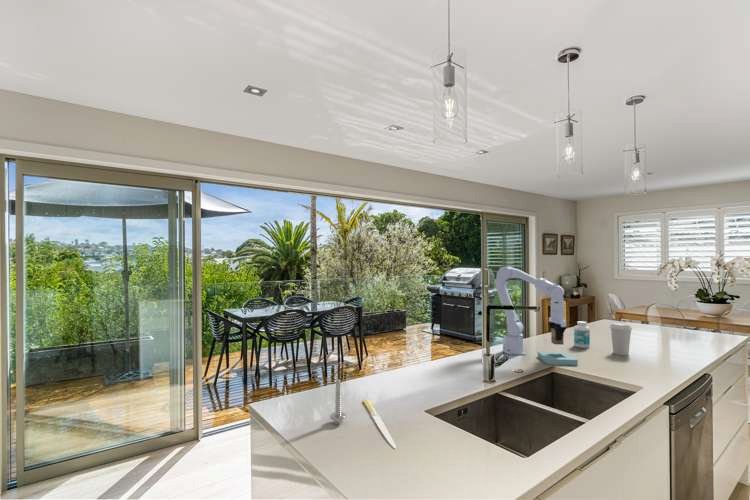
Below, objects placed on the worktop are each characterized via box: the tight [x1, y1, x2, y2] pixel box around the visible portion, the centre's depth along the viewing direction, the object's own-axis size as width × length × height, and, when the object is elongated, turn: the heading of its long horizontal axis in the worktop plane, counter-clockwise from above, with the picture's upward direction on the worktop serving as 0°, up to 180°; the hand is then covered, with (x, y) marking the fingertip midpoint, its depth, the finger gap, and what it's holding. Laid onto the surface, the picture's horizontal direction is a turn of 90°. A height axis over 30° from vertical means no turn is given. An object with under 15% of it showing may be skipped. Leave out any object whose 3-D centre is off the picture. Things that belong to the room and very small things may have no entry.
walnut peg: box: [550, 328, 564, 345], centre depth 182 cm, size 4×4×7 cm
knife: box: [362, 398, 397, 450], centre depth 115 cm, size 1×33×5 cm
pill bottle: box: [573, 320, 591, 349], centre depth 206 cm, size 8×7×14 cm
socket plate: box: [537, 351, 579, 366], centre depth 178 cm, size 13×13×2 cm
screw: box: [329, 379, 347, 426], centre depth 113 cm, size 13×5×5 cm
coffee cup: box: [609, 322, 633, 356], centre depth 192 cm, size 10×10×15 cm
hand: (557, 339), depth 182 cm, fingers closed on walnut peg, 4 cm apart
